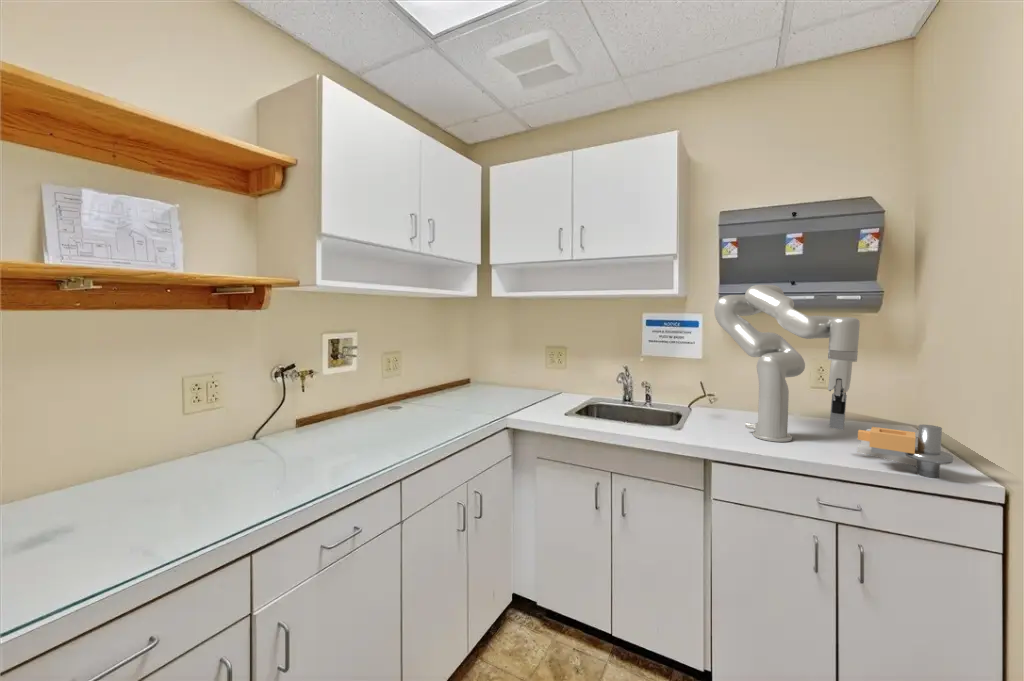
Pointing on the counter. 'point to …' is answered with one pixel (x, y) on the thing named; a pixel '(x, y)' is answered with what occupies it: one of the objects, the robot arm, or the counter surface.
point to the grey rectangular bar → (837, 417)
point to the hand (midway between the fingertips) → (838, 412)
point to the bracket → (889, 439)
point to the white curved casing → (867, 450)
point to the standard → (925, 452)
